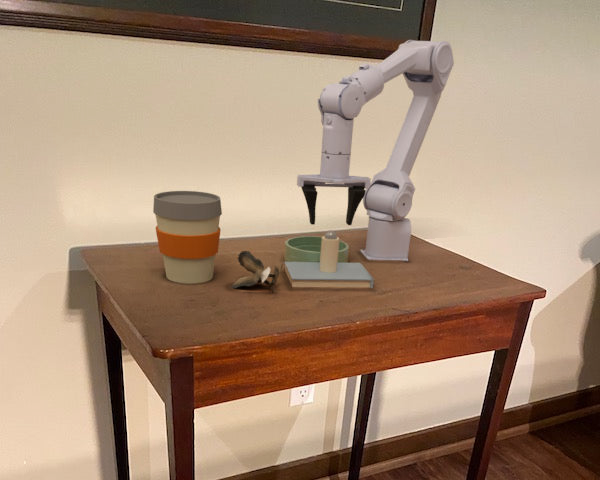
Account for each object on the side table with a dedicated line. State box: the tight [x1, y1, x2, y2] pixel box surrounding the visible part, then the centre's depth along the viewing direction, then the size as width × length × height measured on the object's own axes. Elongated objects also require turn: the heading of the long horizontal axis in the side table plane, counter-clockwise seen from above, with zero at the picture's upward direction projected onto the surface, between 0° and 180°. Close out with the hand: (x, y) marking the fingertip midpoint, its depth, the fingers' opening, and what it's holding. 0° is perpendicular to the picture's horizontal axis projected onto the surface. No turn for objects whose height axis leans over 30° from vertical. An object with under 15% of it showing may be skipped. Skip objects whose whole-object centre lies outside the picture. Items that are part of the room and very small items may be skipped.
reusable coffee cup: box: [152, 190, 223, 285], centre depth 117 cm, size 13×13×15 cm
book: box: [283, 261, 375, 289], centre depth 122 cm, size 16×11×2 cm
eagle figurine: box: [231, 250, 284, 293], centre depth 115 cm, size 8×7×9 cm
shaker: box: [319, 229, 341, 273], centre depth 120 cm, size 4×4×8 cm
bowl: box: [283, 235, 350, 263], centre depth 133 cm, size 14×14×4 cm
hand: (330, 223), depth 126 cm, fingers open, 7 cm apart
